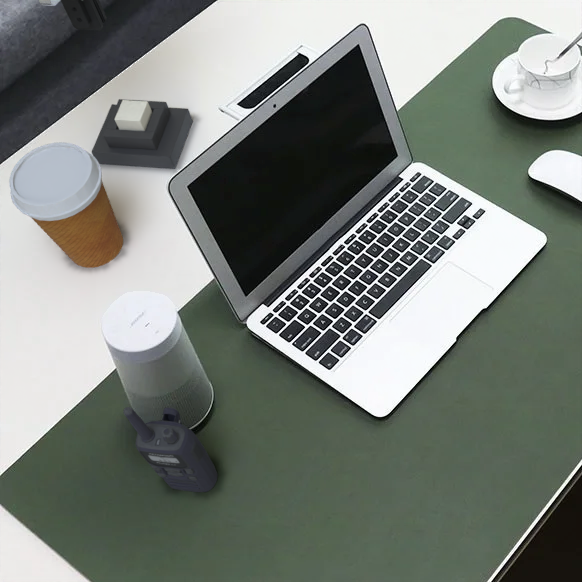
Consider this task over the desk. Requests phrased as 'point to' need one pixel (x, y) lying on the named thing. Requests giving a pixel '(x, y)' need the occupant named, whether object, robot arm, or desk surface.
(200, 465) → the two-way radio
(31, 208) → the disposable coffee cup
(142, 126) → the key
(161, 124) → the key block
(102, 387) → the desk surface
